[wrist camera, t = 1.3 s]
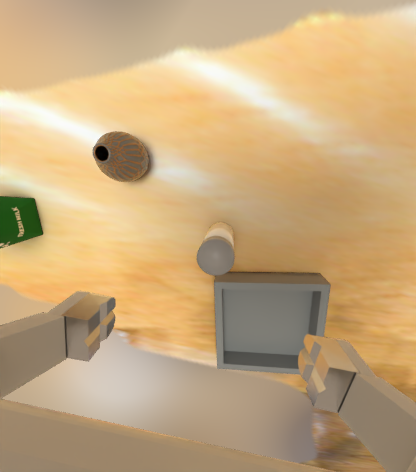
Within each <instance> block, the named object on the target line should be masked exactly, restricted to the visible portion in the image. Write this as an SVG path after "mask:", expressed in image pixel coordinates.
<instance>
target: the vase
mask: <svg viewBox="0 0 416 472" xmlns="http://www.w3.org/2000/svg"><path fill="white" fill-rule="evenodd" d="M93 156H94V158H95V161H96V163H97V165H98V167H99V168H100V170H101V171H102V172H103V173H104V174H105V175H107V176H108V177H110V178H112V179H114V180H117V181H121V182H130V181H135V180H137V179H139V178H140V177H142V176H143V175H144V173H145V172H146V170H147V168H148V163H149V158H148V153H147V151H146V149H145V147H144V146H143V144H142V143H141V142H140V141H139V140H138V139H137V138H135V137H134V136H132V135H130V134H128V133H125V132H110V133H107V134H105V135H103V136H102V137H100V139H99V140H98V141H97V143H96V145H95V146H94V148H93Z"/></svg>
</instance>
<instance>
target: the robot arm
mask: <svg viewBox="0 0 416 472" xmlns="http://www.w3.org/2000/svg"><path fill="white" fill-rule="evenodd" d="M114 307H115V299H114V297H109V296H104V295H100V294H95V293H90V292H85V291H77V292H76V293H74V294H73V295H71V296H70V297H69V298H67V299H66V300H64V301H63V302H62V303H60V304H59V305H57V306H56V307H55V308H53V309H52V310H50V311H49V312H48V313H44V312H42V313H40V314H36V315H33V316H30V317H26V318H23V319H20V320H16V321H14V322H10V323H7V324H3V325H0V472H336V471H331V470H327V469H322V468H318V467H313V466H308V465H304V464H299V463H294V462H290V461H285V460H280V459H275V458H271V457H266V456H262V455H257V454H252V453H248V452H243V451H239V450H233V449H229V448H225V447H220V446H216V445H211V444H206V443H202V442H197V441H193V440H188V439H184V438H179V437H174V436H170V435H165V434H160V433H156V432H152V431H147V430H142V429H138V428H133V427H128V426H124V425H119V424H115V423H110V422H106V421H101V420H96V419H92V418H87V417H83V416H78V415H74V414H69V413H64V412H60V411H55V410H50V409H46V408H41V407H37V406H32V405H28V404H23V403H18V402H13V401H9V400H4V399H2V398H3V397H4V396H6V395H8V394H9V393H11V392H13V391H14V390H16V389H17V388H19V387H21V386H22V385H24V384H26V383H27V382H29V381H31V380H32V379H34V378H36V377H37V376H39V375H41V374H42V373H44V372H46V371H47V370H49V369H51V368H52V367H54V366H56V365H57V364H59V363H61V362H62V361H64V360H66V358H71V359H77V360H83V361H89V360H90V359H91V358H92V356H93V355H94V354H95V353H96V351H97V350H98V349H99V347H100V342H101V341H103V340H105V339H106V338H107V337H108V336H109V334H110V333H111V331H112V329H113V327H114V323H115V314H114V313H113V311H112V310H113V309H114ZM303 342H304V345H305V348H303V349H302V350H301V351H300V353H299V357H298V366H299V371H300V374H301V377H302V378H303V379H304V380H305V381H306V382H307V383H308V385H307V388H306V390H307V392H308V395H309V397H310V400H311V402H312V405H313V407H314V408H318V409H323V410H327V411H331V412H335V413H339V414H338V415H339V416H340V417H341V418H342V420H343V421H344V422H345V423H346V424H347V426H348V427H349V428H350V429H351V430H352V431H353V433H354V434H355V435H356V436H357V437H358V438H359V440H360V441H361V442H362V443H363V444H364V445H365V447H366V448H367V449H368V450H369V451H370V453H371V454H372V455H373V456H374V457H375V458H376V460H377V461H378V462H379V463H380V464H381V465H382V467H383V468H384V469H385V470H386V471H387V472H416V403H415V402H414V401H413V400H411V399H410V398H408V397H407V396H406V395H404V394H403V393H401V392H400V391H399V390H397V389H396V388H394V387H393V386H392V385H390V384H389V383H387V382H386V381H385V380H383V379H382V378H379V377H376V376H375V374H374V373H373V372H372V371H371V369H370V368H369V367H368V365H367V364H366V363H365V362H364V360H363V359H362V358H361V357H360V355H359V354H358V353H357V351H356V350H355V349H354V348H353V346H352V345H351V344H350V343H349V342H348V341H346V340H342V339H336V338H327V337H322V336H316V335H311V334H307V335H306V336H305V338H304V341H303Z"/></svg>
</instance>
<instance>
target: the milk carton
mask: <svg viewBox="0 0 416 472" xmlns="http://www.w3.org/2000/svg"><path fill="white" fill-rule="evenodd" d="M42 234H43V232H42V228H41V224H40V220H39V216H38V212H37V208H36V203H35V199H34V198H19V197H4V196H0V248H3V247H6V246H9V245H12V244H15V243H18V242H21V241H24V240H27V239H30V238H33V237H36V236H39V235H42Z"/></svg>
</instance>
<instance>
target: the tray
mask: <svg viewBox="0 0 416 472" xmlns="http://www.w3.org/2000/svg"><path fill="white" fill-rule="evenodd" d="M214 292H215V319H216V346H217V368H218V369H232V370H245V371H259V372H273V373H286V374H300V371H299V366H298V357H299V353H300V351H301V350H302V349H303V348H305V345H304V342H303V341H304V338H305V336H306V335H307V334H311V335H316V336H322V337H324V330H325V323H326V315H327V308H328V300H329V293H330V284H329V282H328V281H327V280H326V279H325V278H324V277H323V276H322V275H321V274H320V273H273V272H227V273H225V274H223V275H218V276H215V280H214ZM300 375H301V374H300Z"/></svg>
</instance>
